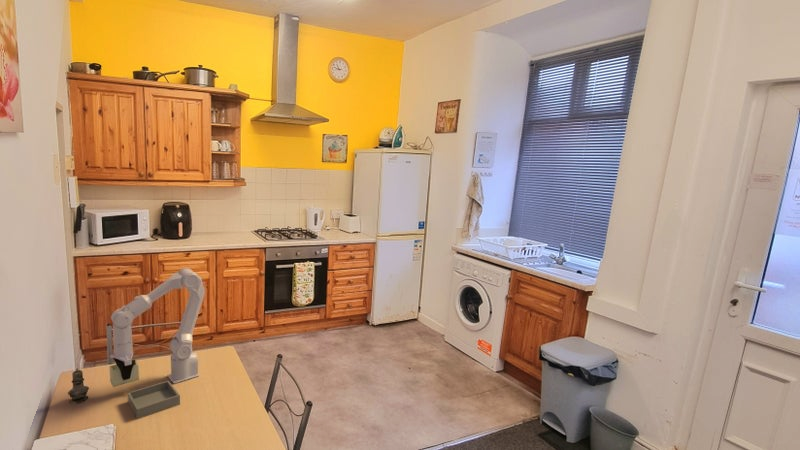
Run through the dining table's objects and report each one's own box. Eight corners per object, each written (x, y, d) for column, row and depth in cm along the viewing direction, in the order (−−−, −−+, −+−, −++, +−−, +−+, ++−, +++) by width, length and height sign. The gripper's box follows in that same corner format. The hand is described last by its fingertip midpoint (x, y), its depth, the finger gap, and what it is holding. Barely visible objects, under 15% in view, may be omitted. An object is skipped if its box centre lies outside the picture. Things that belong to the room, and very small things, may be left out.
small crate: (135, 374, 154) (134, 359, 153) (138, 379, 151) (138, 364, 150) (110, 381, 148) (109, 366, 148) (113, 387, 145) (112, 371, 144)
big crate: (168, 389, 154) (168, 380, 153) (180, 404, 145) (179, 395, 144) (128, 401, 145) (127, 392, 144) (137, 419, 135) (136, 409, 135)
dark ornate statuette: (77, 405, 141) (75, 373, 139) (64, 402, 142) (61, 371, 141) (93, 396, 147) (91, 365, 145) (80, 393, 148) (78, 363, 146)
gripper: (105, 337, 150) (107, 372, 152) (114, 351, 140) (115, 388, 141) (128, 333, 155) (129, 366, 157) (137, 346, 145) (139, 381, 146)
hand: (124, 376), depth 149 cm, fingers closed on small crate, 5 cm apart
